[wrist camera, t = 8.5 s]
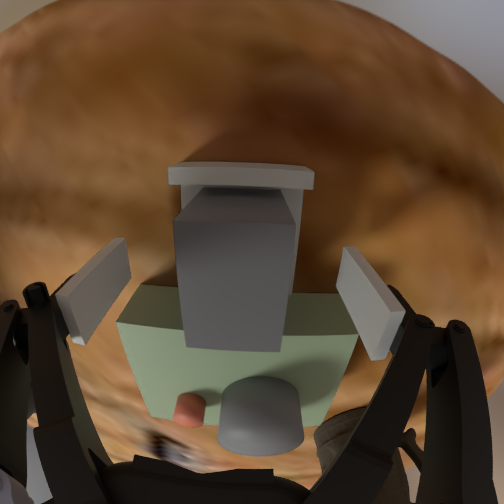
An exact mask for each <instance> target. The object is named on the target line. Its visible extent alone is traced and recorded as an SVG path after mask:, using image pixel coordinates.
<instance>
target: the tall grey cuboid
mask: <svg viewBox="0 0 504 504" xmlns="http://www.w3.org/2000/svg"><path fill="white" fill-rule="evenodd" d="M173 230H174V244H175V257H176V268H177V279H178V288H179V297H180V306H181V314H182V322H183V329H184V336H185V343H186V347H188V348H199V349H212V350H227V351H247V352H280V350H281V343H282V337H283V330H284V323H285V316H286V308H287V301H288V293H289V285H290V277H291V269H292V260H293V251H294V242H295V233H296V223H295V221H294V218H293V216H292V214H291V212H290V209H289V207H288V205H287V203H286V201H285V198H284V196H283V194H282V192H281V190H268V189H246V188H206V187H203V188H202V189H201V190H200V191H199V192H198V193H197V195H196V196H195V197H194V198H193V199H192V200H191V201H190V202H189V203H188V204H187V205H186V206H185V207H184V209H183V210H182V211H181V212H180V213H179V214H178V215H177V216H176V217H175V219H174V220H173Z"/></svg>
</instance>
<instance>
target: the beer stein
mask: <svg viewBox="0 0 504 504" xmlns="http://www.w3.org/2000/svg"><path fill="white" fill-rule="evenodd" d="M366 408H367V407H366ZM366 408H359V409H355V410H351V411H347V412H345V413H342V414H339V415H337V416H335V417H333V418H331V419H329V420H327V421H325V422H324V423H323V424H321V425H320V426H319V427H318V428H317V429H316V431H315V433H314V440H315V443H316V446H317V456H318V458H319V460H320V465H321V469H322V474H323V473H324V472H325V471H326V469H327V468H328V467H329V465H330V464H331V462H332V461H333V460H334V458H335V457H336V455H337V454H338V453H339V451H340V450H341V448H342V447H343V445H344V444H345V442H346V441H347V439H348V438H349V436H350V434H351V433H352V431H353V430H354V428H355V426H356V425H357V423H358V421H359V420H360V418H361V416H362V415H363V413H364V411H365V410H366ZM415 438H416V432H415V430H414V429H413V428H410V429H408V430H407V431H406V432H405V433H403V434H402V436H401V439H400V441H399V443H398V445H397V447H396V450H395V452H394V454H393V456H392V461H394V462H393V466H392V468H391V471H390V473H389V475H388V477H387V479H386V480H385V482H384V484H383V486H382V488H381V489H380V491H379V493H378V495H377V496H376V498H375V500H374V501H373V503H372V504H415V503H411V502H410V497H409V485H408V481H407V476H406V473H405V470H404V466H403V463H402V459H401V456H400V452H399V449H398V447H401V448H402V449H403V450H404V451H405V452H406V453H407V454H408V456H409V457H410V458H411V459H412V460H413V462H414V463H415V465H416V466H417V468H418V469H419V471H420V473H421V468H422V461H423V453H424V452H423V451H422V450H421V449H420V448H419V447H418V445H417V444H416V441H415Z"/></svg>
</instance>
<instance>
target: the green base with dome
mask: <svg viewBox="0 0 504 504" xmlns="http://www.w3.org/2000/svg"><path fill="white" fill-rule="evenodd" d="M314 174H315V172H313V171H312V170H310V169H309V168H307V167H306V166H298V165H286V164H270V163H250V162H180V163H177V164H175V165H172V166H170V167H168V185H181V209H182V210H183V209H184V207H185V206H186V205H187V204H188V203H189V202H190V201H191V200H192V199H193V198H194V197H195V196H196V195H197V193H198V192H199V191H200V190H201V189H202V188H203V187H206V188H246V189H268V190H281V192H282V194H283V196H284V198H285V201H286V203H287V205H288V207H289V209H290V212H291V214H292V216H293V218H294V221H295V223H296V233H295V242H294V251H293V260H292V269H291V277H290V285H289V293H288V301H287V308H286V316H285V323H284V330H283V337H282V343H281V350H280V352H247V351H227V350H212V349H199V348H188V347H186V343H185V336H184V329H183V322H182V314H181V306H180V297H179V288H178V287H169V286H156V285H144V284H140V285H139V287H138V288H137V290H136V291H135V293H134V294H133V296H132V297H131V299H130V301H129V302H128V304H127V305H126V307H125V308H124V310H123V311H122V313H121V315H120V316H119V318H118V319H117V321H116V324H117V328H118V331H119V334H120V337H121V340H122V343H123V346H124V349H125V352H126V355H127V358H128V361H129V364H130V366H131V369H132V372H133V374H134V377H135V380H136V382H137V385H138V387H139V390H140V392H141V394H142V397H143V399H144V402H145V404H146V406H147V408H148V411H149V413H150V415H151V416H152V417H157V418H163V419H168V420H175V421H176V422H177V423H178V424H180V425H183V426H186V427H192V428H196V427H200V426H202V425H203V424H206V425H217V426H219V428H218V438H217V440H218V443H219V444H220V445H221V446H222V447H223V448H225V449H226V450H228V451H231V452H233V453H237V454H241V455H246V456H272V455H278V454H282V453H286V452H289V451H291V450H293V449H295V448H297V447H298V446H300V445H301V444H302V442H303V441H304V431H303V427H306V426H320V425H321V424H322V422H323V419H324V417H325V415H326V413H327V411H328V409H329V407H330V405H331V403H332V400H333V398H334V396H335V394H336V392H337V389H338V387H339V385H340V382H341V380H342V378H343V375H344V373H345V370H346V368H347V365H348V363H349V360H350V358H351V355H352V352H353V350H354V347H355V344H356V341H357V339H358V336H359V333H358V331H357V329H356V327H355V325H354V322H353V320H352V318H351V316H350V314H349V312H348V310H347V308H346V306H345V304H344V302H343V300H342V298H341V296H340V294H339V293H292V289H293V281H294V274H295V266H296V258H297V250H298V241H299V232H300V223H301V214H302V204H303V193H304V189H306V190H313V185H314Z"/></svg>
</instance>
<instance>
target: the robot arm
mask: <svg viewBox="0 0 504 504" xmlns="http://www.w3.org/2000/svg"><path fill="white" fill-rule="evenodd" d="M130 279H131V272H130V266H129V259H128V253H127V246H126V238H114V239H113V240H112V241H110V242H109V243H108V244H107V245H106V246H105V247H104V248H103V249H102V250H100V251H99V252H98V253H97V254H96V255H95V256H94V257H93V258H92V259H91V260H90V261H88V262H87V263H86V264H85V265H84V266H83V267H82V268H81V269H80V270H79V271H78V272H77V273H75V274H73V275H71V276H70V277H69V278H67V279H66V280H65V281H64V283H62V284H61V285H60V287H58V288H57V289H56V290H55V291H54V292H53V294H52V295H51V296H49V293H48V290H47V287H46V284H45V283H43V282H35V283H32V284H30V285H28V286H27V287H26V288H25V289H24V290H23V292H22V293H23V296H24V298H25V301H26V304H27V306H28V308H21V309H20V306H19V304H18V302H17V301H16V300H7V301H5V302H4V303H3V304H2V305H1V306H0V504H34V501H33V500H32V498H30V497H29V496H28V493H27V491H26V485H27V455H26V432H27V419H28V418H29V417H30V416H31V415H32V414H33V413H36V414H37V419H38V423H39V427H35V428H34V430H33V432H34V439H35V443H36V447H37V450H38V454H39V458H40V461H41V465H42V468H43V471H44V474H45V477H46V480H47V483H48V486H49V488H50V491H51V493H52V496H53V498H52V499H50V500H48V501H46V502H44V503H42V504H372V503H373V501H374V500H375V498H376V496H377V495H378V493H379V491H380V489H381V488H382V486H383V484H384V482H385V480H386V479H387V477H388V475H389V473H390V471H391V468H392V466H393V462H394V461H392V456H393V454H394V452H395V450H396V447H397V445H398V443H399V441H400V439H401V436H402V434H403V432H404V429H405V427H406V424H407V422H408V419H409V417H410V414H411V411H412V409H413V406H414V403H415V400H416V397H417V394H418V391H419V388H420V385H421V382H422V378H423V375H424V371H425V369H426V374H427V412H426V431H425V443H424V453H423V461H422V468H421V475H420V482H419V486H418V492H417V497H416V503H415V504H498V500H497V496H496V491H495V487H494V483H493V480H492V477H493V474H492V473H493V456H492V437H491V426H490V417H489V409H488V402H487V396H486V391H485V385H484V380H483V375H482V371H481V367H480V362H479V358H478V355H477V351H476V347H475V344H474V340H473V337H472V333H471V330H470V328H469V327H468V326H467V325H466V324H465V323H464V322H462V321H459V320H450V321H449V323H448V325H447V327H446V328H441V327H435V324H434V323H433V321H432V320H431V319H430V318H428V317H426V316H424V315H420V314H416V313H415V312H414V310H413V309H412V308H411V307H410V305H409V304H408V303H407V301H406V300H405V299H404V298H403V297H402V295H401V294H400V292H399V291H398V290H397V289H395V288H394V287H392V286H391V285H386V284H385V283H384V281H383V280H382V279H381V278H380V276H379V275H378V274H377V273H376V271H375V270H374V269H373V268H372V266H371V265H370V264H369V263H368V261H367V260H366V259H365V258H364V257H363V255H362V254H361V253H360V252H359V251H358V249H357V248H356V247H352V246H344V247H343V252H342V258H341V263H340V268H339V273H338V278H337V283H336V288H337V290H338V292H339V294H340V296H341V298H342V300H343V302H344V304H345V306H346V308H347V310H348V312H349V314H350V316H351V318H352V320H353V322H354V325H355V327H356V329H357V331H358V333H359V335H360V337H361V340H362V342H363V344H364V346H365V348H366V351H367V353H368V355H369V357H370V360H371V361H374V360H383V359H386V357H387V354H388V352H389V350H390V351H391V353H392V354H393V356H392V359H391V361H390V363H389V365H388V367H387V369H386V371H385V373H384V375H383V377H382V379H381V381H380V383H379V385H378V387H377V389H376V391H375V393H374V395H373V397H372V399H371V401H370V402H369V404H368V406H367V408H366V410H365V411H364V413H363V415H362V416H361V418H360V420H359V421H358V423H357V425H356V426H355V428H354V430H353V431H352V433H351V434H350V436H349V438H348V439H347V441H346V442H345V444H344V445H343V447H342V448H341V450H340V451H339V453H338V454H337V455H336V457H335V458H334V460H333V461H332V462H331V464H330V465H329V467H328V468H327V469H326V471H325V472H324V473H323V474H322V476H321V477H320V478H319V479H318V481H317V482H316V483H315V484H314V485H313V487H312V488H311V489H310V490H308V489H307V488H305V487H304V486H302V485H300V484H298V483H296V482H294V481H291V480H289V479H285V478H282V477H277V476H274V473H273V469H234V470H227V471H221V472H213V473H205V474H201V473H196V472H193V471H191V470H188V469H185V468H182V467H180V466H177V465H175V464H172V463H170V462H167V461H163V460H158V459H153V458H148V457H144V456H139V455H134V459H133V461H130V462H121V463H116V464H113V462H112V461H111V459H110V458H109V456H108V455H107V453H106V451H105V449H104V447H103V445H102V443H101V440H100V438H99V436H98V434H97V431H96V429H95V426H94V424H93V422H92V419H91V416H90V414H89V411H88V409H87V406H86V403H85V400H84V397H83V394H82V392H81V388H80V385H79V382H78V379H77V376H76V372H75V369H74V365H73V361H72V358H71V354H70V350H69V346H68V343H67V340H66V337H67V336H68V334H70V336H71V339H72V341H73V343H77V344H81V345H86V344H87V342H88V340H89V339H90V337H91V336H92V334H93V333H94V331H95V330H96V328H97V326H98V325H99V323H100V322H101V320H102V319H103V317H104V316H105V314H106V313H107V312H108V310H109V309H110V307H111V306H112V304H113V303H114V301H115V300H116V299H117V297H118V296H119V294H120V293H121V291H122V290H123V289H124V287H125V286H126V285H127V283H128V282H129V280H130Z"/></svg>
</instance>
